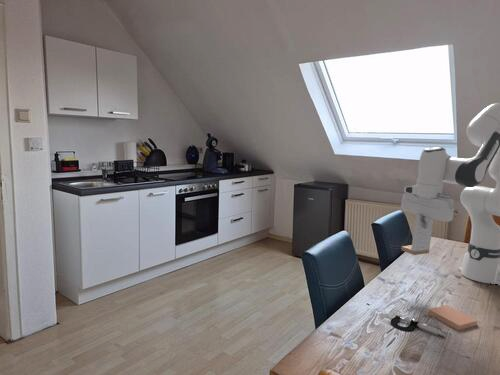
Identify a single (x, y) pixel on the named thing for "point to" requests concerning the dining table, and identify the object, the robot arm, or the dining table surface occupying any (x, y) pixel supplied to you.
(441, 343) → the dining table surface
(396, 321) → the micrometer
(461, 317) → the tile
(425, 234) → the bookend
